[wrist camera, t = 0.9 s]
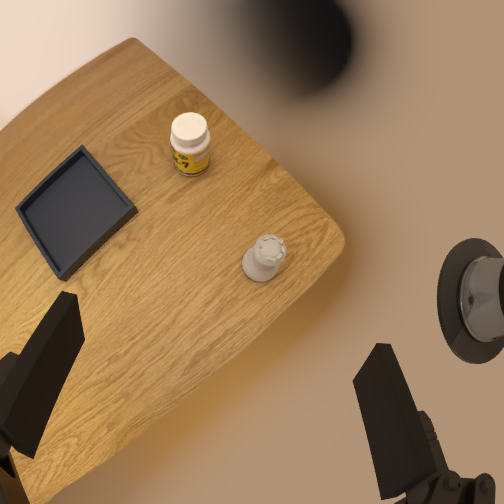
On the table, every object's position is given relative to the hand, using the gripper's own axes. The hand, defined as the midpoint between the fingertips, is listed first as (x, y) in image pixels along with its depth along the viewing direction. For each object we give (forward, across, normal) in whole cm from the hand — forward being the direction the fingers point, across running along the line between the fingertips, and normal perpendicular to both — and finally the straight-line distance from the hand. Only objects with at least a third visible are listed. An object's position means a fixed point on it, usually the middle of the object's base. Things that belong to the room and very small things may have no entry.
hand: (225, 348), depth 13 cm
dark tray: (+26, -21, -8) cm, 34 cm away
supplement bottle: (+32, -7, -1) cm, 33 cm away
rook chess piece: (+24, +4, -10) cm, 26 cm away
